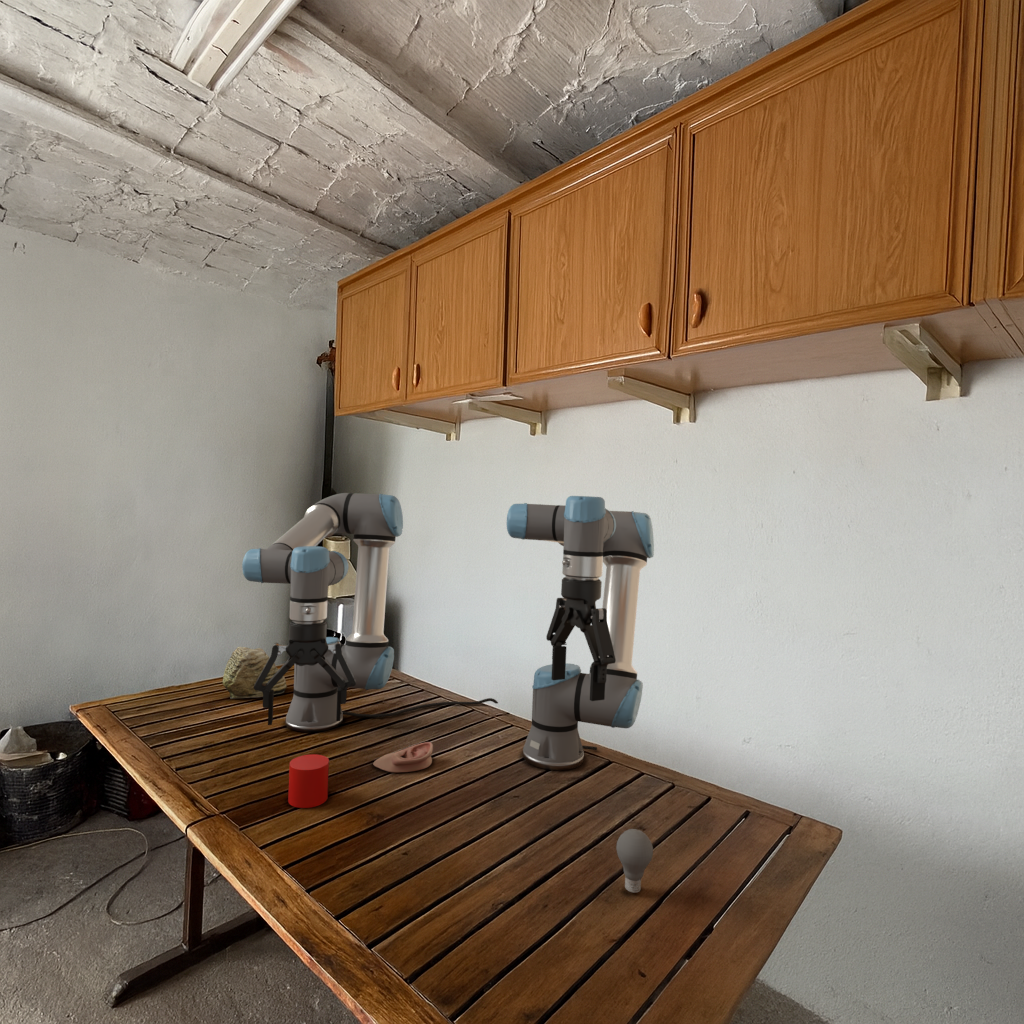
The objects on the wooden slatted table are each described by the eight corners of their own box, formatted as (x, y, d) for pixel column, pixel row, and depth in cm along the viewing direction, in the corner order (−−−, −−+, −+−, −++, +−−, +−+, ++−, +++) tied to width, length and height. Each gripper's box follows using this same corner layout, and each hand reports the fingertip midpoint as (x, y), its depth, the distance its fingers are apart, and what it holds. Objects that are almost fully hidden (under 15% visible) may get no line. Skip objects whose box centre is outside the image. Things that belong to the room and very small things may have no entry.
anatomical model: (368, 752, 148) (387, 734, 159) (367, 769, 148) (386, 750, 159) (422, 759, 145) (438, 741, 156) (421, 776, 145) (437, 757, 156)
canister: (327, 805, 130) (329, 768, 130) (287, 809, 128) (288, 771, 128) (327, 788, 138) (328, 753, 137) (288, 792, 135) (290, 755, 135)
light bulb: (610, 879, 108) (613, 822, 108) (644, 879, 109) (647, 822, 109) (619, 902, 102) (622, 840, 102) (655, 901, 103) (658, 840, 103)
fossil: (218, 695, 195) (220, 647, 195) (278, 685, 208) (279, 640, 207) (228, 703, 189) (230, 653, 188) (289, 692, 201) (290, 645, 201)
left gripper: (241, 625, 126) (238, 731, 126) (370, 623, 133) (366, 723, 133) (246, 617, 133) (243, 717, 133) (367, 616, 140) (364, 711, 140)
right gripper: (532, 569, 129) (528, 673, 130) (603, 587, 107) (597, 712, 107) (564, 569, 133) (559, 670, 133) (639, 586, 110) (633, 707, 111)
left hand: (304, 720), depth 133 cm, fingers open, 13 cm apart
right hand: (576, 689), depth 120 cm, fingers open, 13 cm apart
